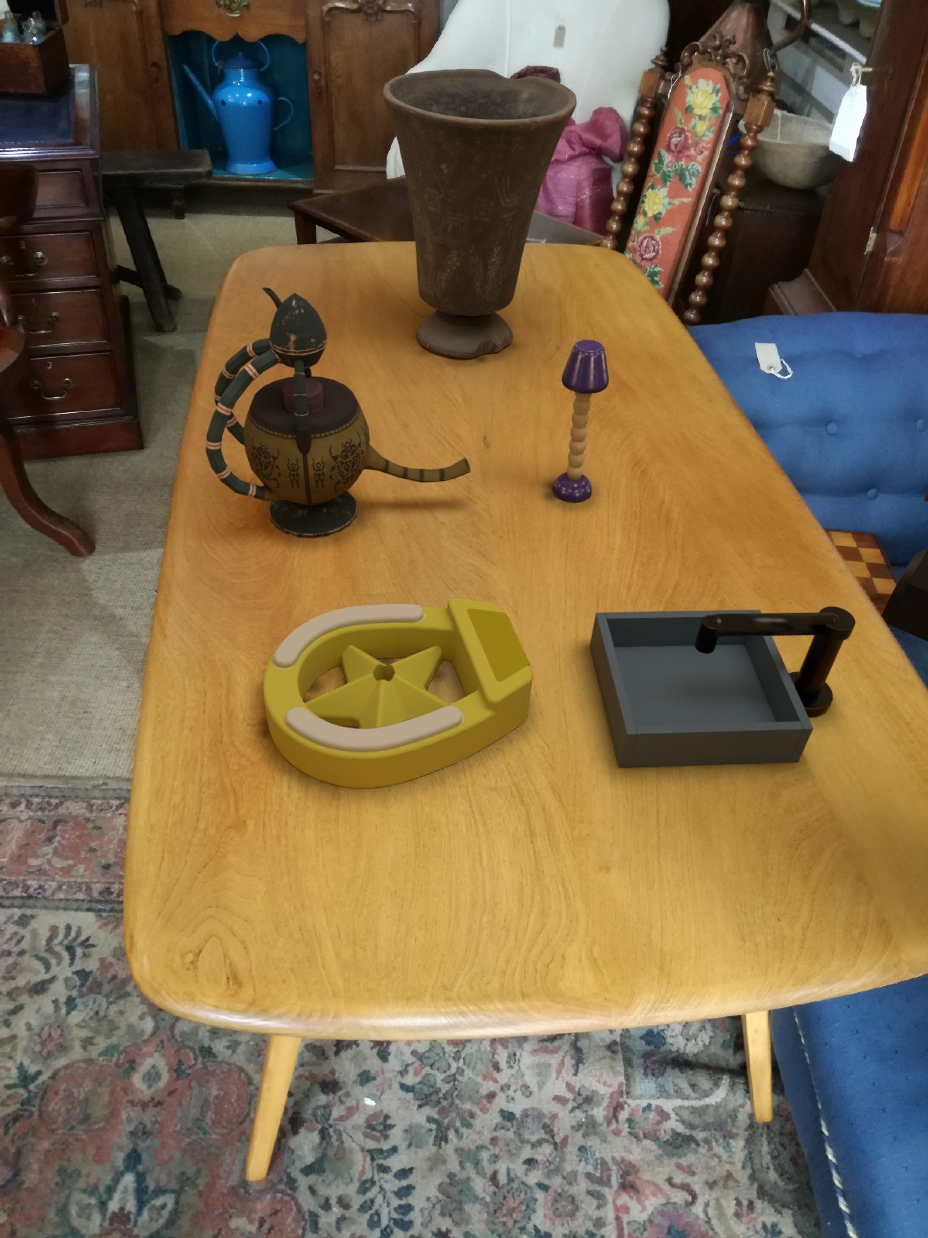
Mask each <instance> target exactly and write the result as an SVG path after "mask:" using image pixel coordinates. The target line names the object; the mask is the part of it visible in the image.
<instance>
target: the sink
mask: <svg viewBox="0 0 928 1238" xmlns="http://www.w3.org/2000/svg"><path fill="white" fill-rule="evenodd" d="M735 613H762V611H761V609H718V610H717V609H716V610H715V609H713V610H712V609H711V610H710V609H709V610H658V611H657V610H655V611H604V612H603V611H602V612H600V611H599V612H598V611H597V612H595V615H594V620H593V626H592V632H591V638H590V643H589V649H590V653H591V657H592V661H593V665H594V670H595V674H596V678H597V682H598V686H599V691H600V695H601V698H602V702H603V708H604V712H605V715H606V719H607V723H608V728H609V732H610V736H611V740H612V744H613V748H614V752H615V757H616V761H617V766H618V768H644V767H645V768H647V767H676V766H701V765H703V766H706V765H707V766H708V765H710V766H711V765H737V764H738V765H740V764H741V765H742V764H743V765H744V764H771V763H798V762H799V761H800V759H801V757H802V755H803V752H804V750H805V748H806V746H807V744H808V742H809V739H810V737H811V735H812V733H813V731H814V726H813V724H812V722H811V719H810V717H808V715H807V713H806V711H805V709H804V706H803V704H802V702H801V700H800V697H799V695H798V693H797V691H796V689H795V686H794V684H793V682H792V680H791V677H790V675H789V673H790V672H789V671H788V669H787V667H786V664H785V662H784V660H783V658H782V657H783V656H781V653H780V651H779V648H778V646H777V644H776V642H775V640H774V638H773V637H774V636H733V637H718V640H717V644H716V647H715V650H714V651H713V652H712V653H710V654H704V653H701V652H699V651H698V650H697V649H696V648H695V641H696V638H697V635H698V631H699V628H700V624H701V621H702V618H703V617H704V616H706V615H713V614H735Z"/></svg>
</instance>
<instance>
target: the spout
mask: <svg viewBox="0 0 928 1238" xmlns="http://www.w3.org/2000/svg"><path fill="white" fill-rule="evenodd" d="M856 624H857V623H856V619H855V617H854V616H853V614H852V613H851V612H850V611H848V610H846V609H844V608H842V607H839V606H832V605H831V606H825V607H823V608H821V609H820V610H819V611H817V612H816V611H815V612H761V613H735V614H713V615H706V616H704V617H703V618H702V621H701V624H700V628H699V631H698V635H697V638H696V641H695V648H696V649H697V650H698V651H699V652H701V653H704V654H710V653H712V652H713V651H714V650H715V647H716V644H717V640H718V637H733V636H772V637H784V636H785V637H793V636H798V637H799V636H800V637H801V636H814V635H821V636H823V637H825V638H827V639H829V640H833V641H843V642H844V641H846V640H848V639H850V638H851V635H852V633H853V631H854V628H855V627H856Z"/></svg>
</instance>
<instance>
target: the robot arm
mask: <svg viewBox="0 0 928 1238" xmlns="http://www.w3.org/2000/svg"><path fill="white" fill-rule="evenodd" d="M923 501H925V502H928V487H926V491H925V494H924V498H923ZM880 616H881V617H882V619H883V620H884V622H885V624H886V625H888V626H891V627H892V628H895V629H897V630H900V631H902V632H904V633H906V634H909V635H910V636H914V637H916V638H917V639H921V640H923V641H924V642H927V643H928V548H926V549H922V550H921V551H918V552H916V553H915V552H914V555H912V558H911V559H910V561H909V563H908V565H907V566H906V568H905V569H904V572H903V573H902V575H901V576H900V578H899V579H898V581H897V583H896V585H895V587H894V589H893V591H892V592H891V594H890V596H889V598H888V600H887V602H886V605H885V606H884V609H883V611H882V613H881V615H880Z"/></svg>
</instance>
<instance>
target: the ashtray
mask: <svg viewBox="0 0 928 1238" xmlns="http://www.w3.org/2000/svg"><path fill="white" fill-rule="evenodd" d="M393 658H394V659H395V658H396V659H397V658H398V659H399V658H401V659H399V660H397V661H395V662H392V663H390V664H385V663H383V662H382V661H380V660H379V659H393ZM443 660H445V661H446V660H447V661H452V663H453V665H454V667H455V671H456V672H457V675H458V678H459V681H460V683H461V685H462V688H463V690H464V693H465V696H464V697H462V698H460V699H458V700H456V701H455V702H451V703H448V702H447V701H445V700H444V699H442V698H440V697H438V696H437V695H435V694H434V693H432V692H430V691H429V690H428V688H429V686H430V684H431V682H432V680H433V679H434V677H435V675H436V673H437V671H438V669H439V667H440V665H441V663H442V662H443ZM529 661H530V660H529V659H528V657H527V655H526V653H525V650H524V648H523V647H522V644H521V641H520V639H519V638H518V635H517V634H516V631H515V629H514V627H513V625H512V623H511V620H510V619H509V616H508V615H507V613H506V612H505V611H504V609H503V608H502V607H501V606H500V605H499V604H497V603H495V602H488V601H482V600H481V601H480V600H474V599H466V598H461V597H460V598H458V597H452V598H450V599H449V600H448V601H447V607H442V606H426V605H418V604H416V603H384V604H380V603H379V604H366V605H355V606H354V605H353V606H347V607H343V608H342V607H341V608H338V609H334V610H330V611H327V612H324V613H322V614H319V615H317V616H315V617H312V618H311V619H309V620H307V621H305V622H303V623H302V624H301V625H299V626H298V627H296V628H295V629H293V631H292V632H290V633H289V634H288V635H287V636H286V637H285V638H284V639H283V640H282V641H281V642H280V644H279V645H277V647H276V648H275V649H274V651H273V652H272V654H271V656H270V658H269V660H268V662H267V663H266V666H265V670H264V672H263V673H264V674H263V680H262V693H263V701H264V707H265V715H266V719H267V726H268V729H269V730H268V731H269V734H270V736H271V739H272V741H273V743H274V745H275V746H276V749H277V750H278V751H279V753H280V754H281V755H282V756H283V757H284V758H285V759H286V761H287V762H289V764H291V765H292V766H293V767H295V768H296V769H297V770H298V771H301V772H302V773H304V774H305V775H307V776H309V777H311V778H314V779H315V780H318V781H320V782H323V783H327V784H330V785H334V786H338V787H346V788H353V789H375V788H384V787H390V786H394V785H398V784H401V783H405V782H408V781H412V780H414V779H417V778H420V777H423V776H426V775H428V774H431V773H435V772H436V771H440V770H442V769H444V768H447V767H449V766H451V765H453V764H456V763H458V762H460V761H462V760H465V759H467V758H468V757H471V756H473V755H474V754H476V753H479V751H482V750H485V748H487V747H489V746H491V745H492V744H493V743H495V742H497V741H498V740H500V739H502V738H503V737H505V736H506V735H507V734H509V733H510V732H512V731H514V730H515V729H516V728H518V727H519V726H520V725H522V724H524V723H525V722H526V721H527V719H528V715H529V707H530V700H531V693H532V686H533V677H534V673H533V670H532V668H531V667H530V666H531V663H530V662H529ZM338 666H341V667H342V672H343V675H344V679H345V682H346V683H345V684H344V685H341V686H339V687H337V688H335V689H332V690H330V691H328V692H326V693H324V694H322V695H319V696H317V697H315V698H313V699H311V700H308V701H306V702H304V699H305V697H306V694H307V692H308V691H309V689H310V688H311V686H312V685H313V684H314V683H315V682H316V681H317V680H318V679H319V678H320V677H321V676H322V675H324V674H325V673H326V672H329V671H330V670H332V669H333V668H336V667H338Z"/></svg>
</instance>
